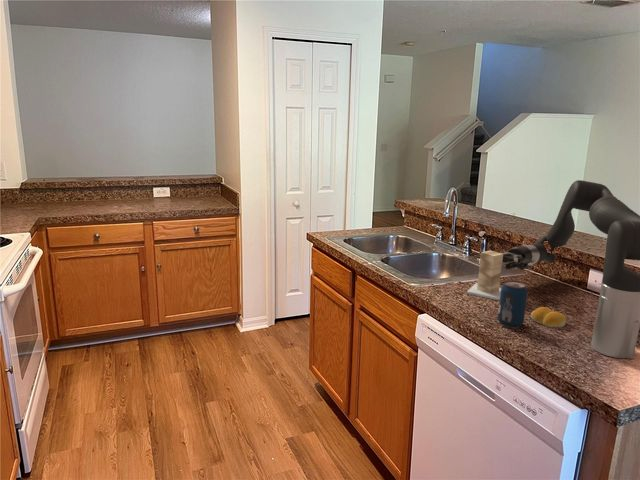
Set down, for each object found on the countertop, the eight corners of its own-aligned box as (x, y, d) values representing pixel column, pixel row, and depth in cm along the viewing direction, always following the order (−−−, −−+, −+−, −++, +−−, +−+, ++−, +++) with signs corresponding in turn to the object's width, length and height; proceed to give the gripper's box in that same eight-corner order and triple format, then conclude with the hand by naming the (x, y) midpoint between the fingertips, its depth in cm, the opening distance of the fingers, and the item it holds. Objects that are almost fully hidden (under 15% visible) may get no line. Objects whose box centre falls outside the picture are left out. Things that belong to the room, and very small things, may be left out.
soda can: (520, 320, 138) (525, 281, 135) (525, 330, 131) (531, 289, 128) (495, 317, 139) (500, 278, 136) (499, 327, 132) (504, 286, 130)
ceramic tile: (508, 291, 162) (508, 289, 161) (500, 300, 153) (501, 298, 153) (475, 284, 167) (476, 282, 167) (466, 293, 159) (466, 291, 158)
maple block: (498, 291, 159) (503, 253, 156) (489, 293, 156) (493, 256, 153) (486, 286, 163) (490, 250, 160) (476, 289, 160) (480, 252, 157)
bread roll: (556, 331, 131) (558, 317, 130) (526, 320, 139) (528, 307, 138) (571, 324, 136) (573, 311, 135) (542, 314, 143) (544, 301, 142)
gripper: (506, 241, 173) (478, 247, 164) (543, 250, 162) (515, 257, 153) (504, 261, 175) (476, 268, 166) (540, 271, 164) (512, 279, 155)
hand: (495, 263), depth 159 cm, fingers open, 8 cm apart
